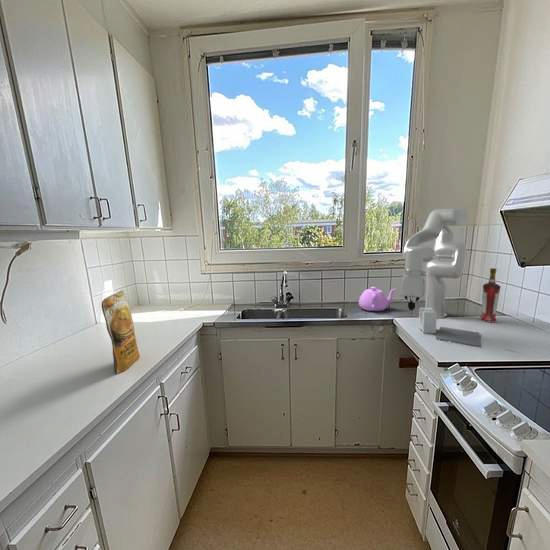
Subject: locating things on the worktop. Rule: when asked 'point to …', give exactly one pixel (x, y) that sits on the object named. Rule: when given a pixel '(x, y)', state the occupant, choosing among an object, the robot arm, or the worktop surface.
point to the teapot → (374, 299)
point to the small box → (427, 320)
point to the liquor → (490, 298)
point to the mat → (459, 336)
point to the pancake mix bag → (120, 331)
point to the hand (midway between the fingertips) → (411, 309)
